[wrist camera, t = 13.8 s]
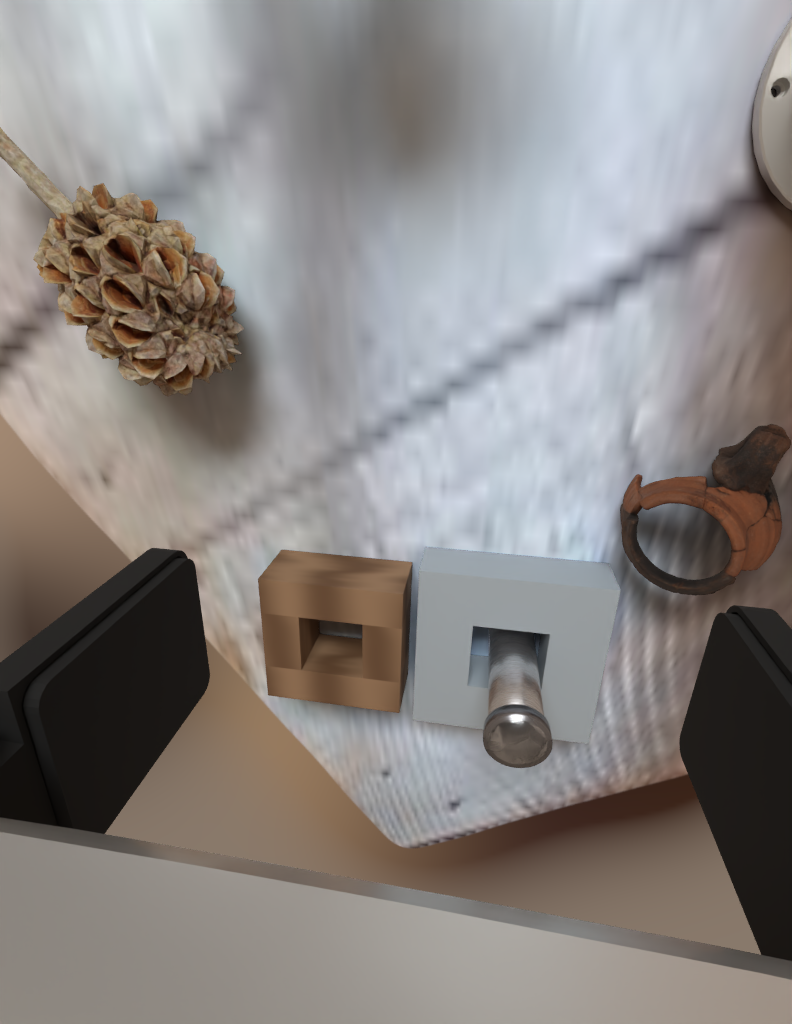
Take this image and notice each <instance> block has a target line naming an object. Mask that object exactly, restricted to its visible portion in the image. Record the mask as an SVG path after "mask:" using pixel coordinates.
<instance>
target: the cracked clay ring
mask: <svg viewBox="0 0 792 1024" xmlns="http://www.w3.org/2000/svg"><path fill="white" fill-rule="evenodd" d="M790 445H791V440H790V439H789V437H788V436H787V435H786V432H785V430H784V429H783V428H781V427H779V426H776V425H774V424H769V425H767V426H758V427H757V428H755V429H754V430H753V431H752V432H751V433H750V434H749V435H748V436H747V437H746V438H745V439H744V440H743V441H741V442H740V443H739V444H737V445H734V446H730V447H724V448H721V449H719V455H718V456H717V457H716V460H714V462H713V463H712V470H713V476H714V478H715V479H716V481H717V482H718V483H719V484H721V485H722V487H716V488H714V487H708V486H707V478H706V477H703V476H697V477H675V478H671V479H666V480H660V481H656V482H653V483H650V484H648V485H646V486H644V487H642V488H641V486H640V485H641V481H642V476H641V475H639V474H638V475H636V476H635V477H634V479H633V480H632V482H631V483H630V485H629V487H628V489H627V491H626V493H625V495H624V499H623V504H622V505H621V509H620V513H621V524H622V542H623V547H624V550H625V553H626V554H627V556H628V558H629V560H630V561H631V562H632V563H633V565H634V567H635V568H636V569H637V570H638V572H639V573H640V574H642V575H643V576H644V577H645V578H646V579H648V580H649V581H650V582H652V583H653V584H655V585H657V586H659V587H660V588H663V589H665V590H668V591H671V592H674V593H680V594H687V595H705V594H712V593H715V592H716V591H718V590H720V589H722V588H724V587H726V586H727V585H731V584H733V583H734V582H735V580H736V578H735V577H736V576H737V575H738V574H739V573H740V571H741V570H744V571H746V570H749V571H751V570H757V569H758V568H759V567H760V566H761V565H762V564H763V563H764V562H765V561H767V559H768V558H769V557H770V556H771V554H772V553H773V551H774V549H775V547H776V544H777V543H778V541H779V539H780V535H781V529H782V521H781V512H780V506H779V502H778V498H777V494H776V491H775V488H774V486H773V483H772V479H771V477H772V476H773V474H774V472H775V470H776V467H777V464H778V463H779V461H780V460H781V458H782V457H783V455H784V454H785V452H786V451H787V450H788V449H789V448H790ZM764 495H765V496H764ZM667 503H680V504H686V505H690V506H694V507H697V508H701V509H703V510H704V511H706V512H707V513H709V514H710V515H712V516H713V517H714V518H715V519H716V520H717V521H718V522H719V523H720V524H721V525H722V526H723V528H724V529H725V531H726V532H727V534H728V536H729V538H730V542H731V548H732V550H731V557H730V560H729V562H728V564H727V565H726V567H725V569H724V570H723V571H722V572H720V573H719V574H717V575H715V576H713V577H710V578H706V579H701V580H687V579H682V578H678V577H675V576H673V575H670V574H668V573H666V572H664V571H662V570H660V569H659V568H658V567H656V566H655V565H654V564H653V563H652V562H650V561H649V559H648V558H647V557H646V556H645V555H644V553H643V551H642V550H641V548H640V546H639V543H638V540H637V524H638V519H639V518H638V515H637V514H638V513H639V511H640V510H641V508H642V507H643V508H644V509H645V510H649V509H651V508H653V507H656V506H659V505H662V504H667Z"/></svg>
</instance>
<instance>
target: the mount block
mask: <svg viewBox="0 0 792 1024" xmlns="http://www.w3.org/2000/svg"><path fill="white" fill-rule="evenodd" d="M411 580H412V562H404V561H393V560H383V559H372V558H362V557H352V556H341V555H331V554H320V553H310V552H299V551H289V550H281V551H280V553H279V554H278V555H277V556H276V558H275V559H274V560H273V561H272V562H271V564H270V565H269V566H268V567H267V569H266V570H265V571H264V572H263V574H262V575H261V576H260V577H259V579H258V583H259V595H260V606H261V618H262V629H263V641H264V652H265V664H266V675H267V687H268V695H271V696H278V697H285V698H293V699H300V700H308V701H315V702H322V703H330V704H337V705H344V706H352V707H359V708H366V709H374V710H381V711H389V712H396V713H399V712H400V707H401V703H402V698H403V693H404V689H405V684H406V679H407V675H408V660H409V633H410V607H411ZM319 620H326V621H335V622H344V623H352V624H361V625H362V639H359V638H350V637H341V636H333V635H324V634H320V633H319Z"/></svg>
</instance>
